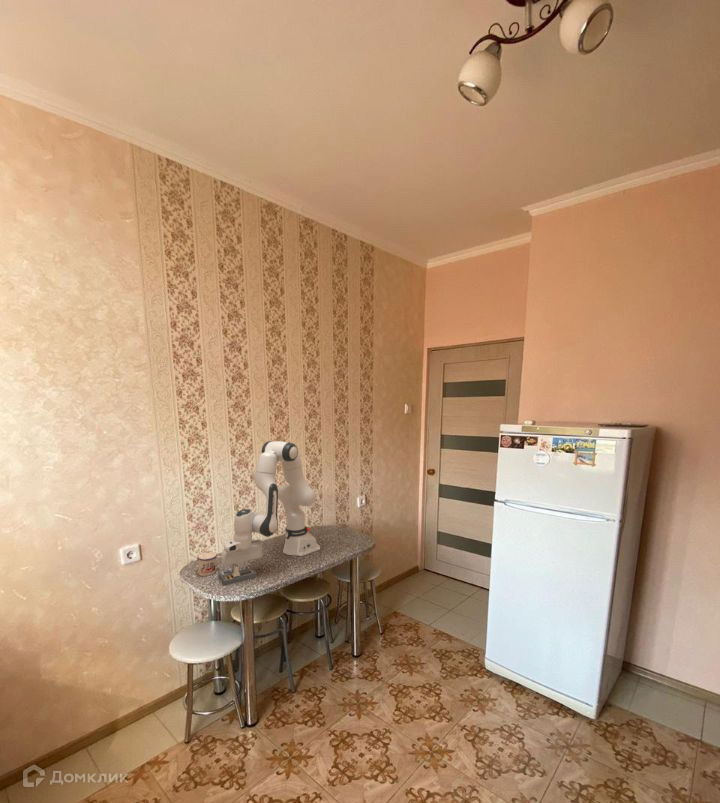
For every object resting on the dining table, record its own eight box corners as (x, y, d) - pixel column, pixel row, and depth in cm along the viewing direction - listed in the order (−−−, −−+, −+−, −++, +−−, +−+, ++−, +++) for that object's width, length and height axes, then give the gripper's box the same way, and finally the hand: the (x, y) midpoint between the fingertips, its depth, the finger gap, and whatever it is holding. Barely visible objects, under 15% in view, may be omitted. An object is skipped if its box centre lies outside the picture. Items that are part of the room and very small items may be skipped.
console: (249, 568, 195) (249, 556, 195) (256, 576, 186) (256, 563, 186) (218, 576, 186) (218, 563, 186) (224, 585, 177) (224, 571, 177)
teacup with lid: (199, 578, 183) (200, 555, 183) (195, 571, 190) (196, 549, 190) (224, 572, 190) (224, 550, 190) (219, 565, 197) (220, 544, 197)
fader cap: (238, 572, 185) (238, 563, 185) (240, 575, 182) (240, 566, 182) (231, 574, 183) (232, 565, 183) (233, 577, 180) (233, 567, 180)
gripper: (260, 536, 192) (259, 562, 192) (220, 544, 181) (219, 572, 181) (264, 540, 187) (264, 567, 187) (223, 549, 176) (223, 577, 175)
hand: (241, 570), depth 184 cm, fingers closed
